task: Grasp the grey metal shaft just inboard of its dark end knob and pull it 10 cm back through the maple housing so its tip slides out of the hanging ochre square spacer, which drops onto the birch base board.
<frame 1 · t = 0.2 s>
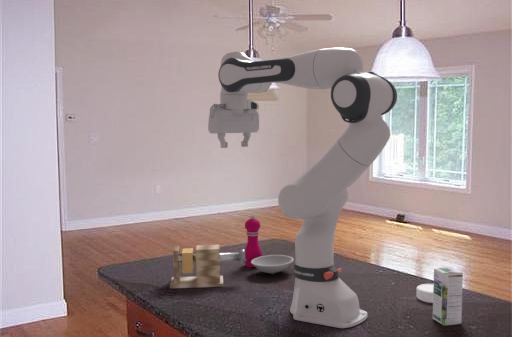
hand: (234, 147, 174), 47 cm above the kitchen island, fingers open, 8 cm apart
dish: (272, 274, 199), on the kitchen island
shaft: (209, 257, 187), point 9 cm above the kitchen island, slide at 0.0 cm, touching spacer
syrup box: (447, 322, 148), on the kitchen island
bracket: (188, 283, 187), on the kitchen island
spacer: (187, 260, 186), point 8 cm above the kitchen island, touching shaft
pepper mill: (253, 266, 210), on the kitchen island
white round disc: (432, 299, 168), on the kitchen island
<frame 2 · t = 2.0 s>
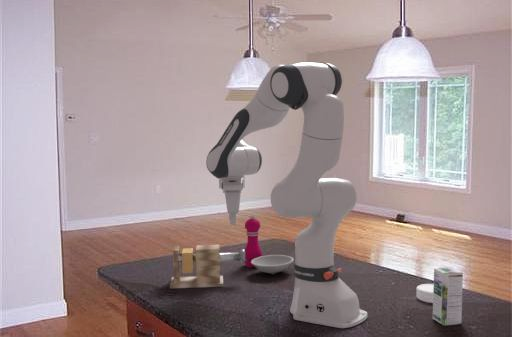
hand: (232, 222, 187), 21 cm above the kitchen island, fingers open, 8 cm apart
nothing on the kitchen island moved.
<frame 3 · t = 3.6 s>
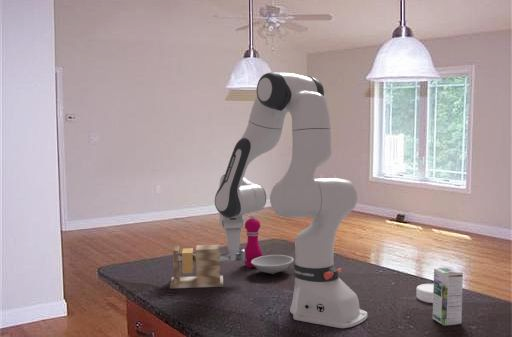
hand: (232, 258, 188), 8 cm above the kitchen island, fingers closed on shaft, 3 cm apart
shaft: (209, 257, 187), point 9 cm above the kitchen island, slide at 0.0 cm, touching gripper, spacer
everything else where it was.
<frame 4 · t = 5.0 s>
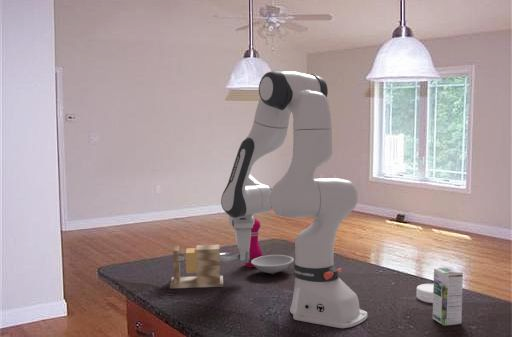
hand: (242, 258, 188), 8 cm above the kitchen island, fingers closed on shaft, 3 cm apart
shaft: (213, 257, 187), point 9 cm above the kitchen island, slide at 1.5 cm, touching gripper
spacer: (191, 260, 187), point 8 cm above the kitchen island
everything else where it was.
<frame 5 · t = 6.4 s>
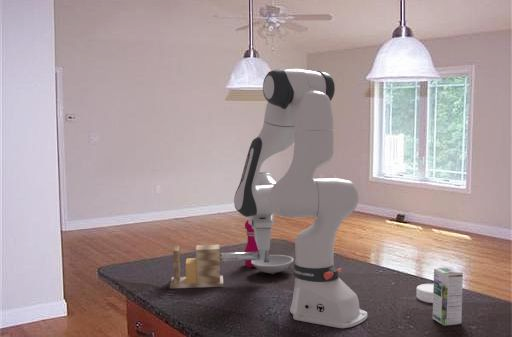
hand: (261, 257, 188), 8 cm above the kitchen island, fingers closed on shaft, 3 cm apart
shaft: (233, 256, 188), point 9 cm above the kitchen island, slide at 8.2 cm, touching gripper
spacer: (191, 270, 187), point 4 cm above the kitchen island, touching bracket
everything else where it was.
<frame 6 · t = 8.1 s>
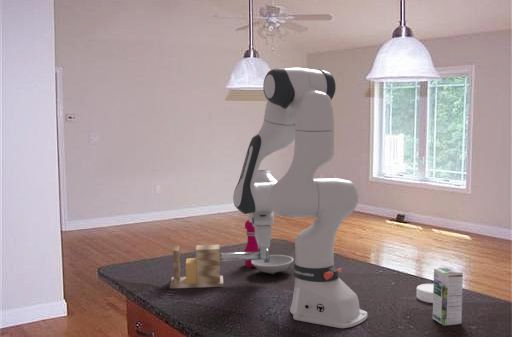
hand: (261, 255, 188), 9 cm above the kitchen island, fingers open, 8 cm apart
shaft: (233, 256, 188), point 9 cm above the kitchen island, slide at 8.3 cm
everything else where it was.
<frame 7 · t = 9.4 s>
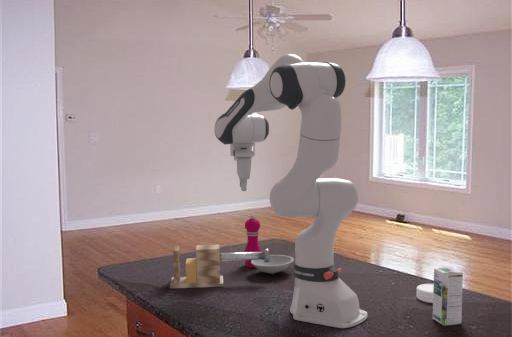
hand: (243, 189, 194), 32 cm above the kitchen island, fingers open, 8 cm apart
nothing on the kitchen island moved.
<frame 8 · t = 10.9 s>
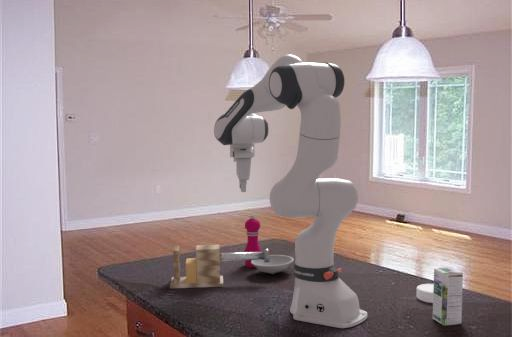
hand: (242, 190, 195), 31 cm above the kitchen island, fingers open, 8 cm apart
nothing on the kitchen island moved.
at the end: shaft slide at 8.3 cm; spacer point 4.5 cm above the kitchen island; spacer touching bracket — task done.
